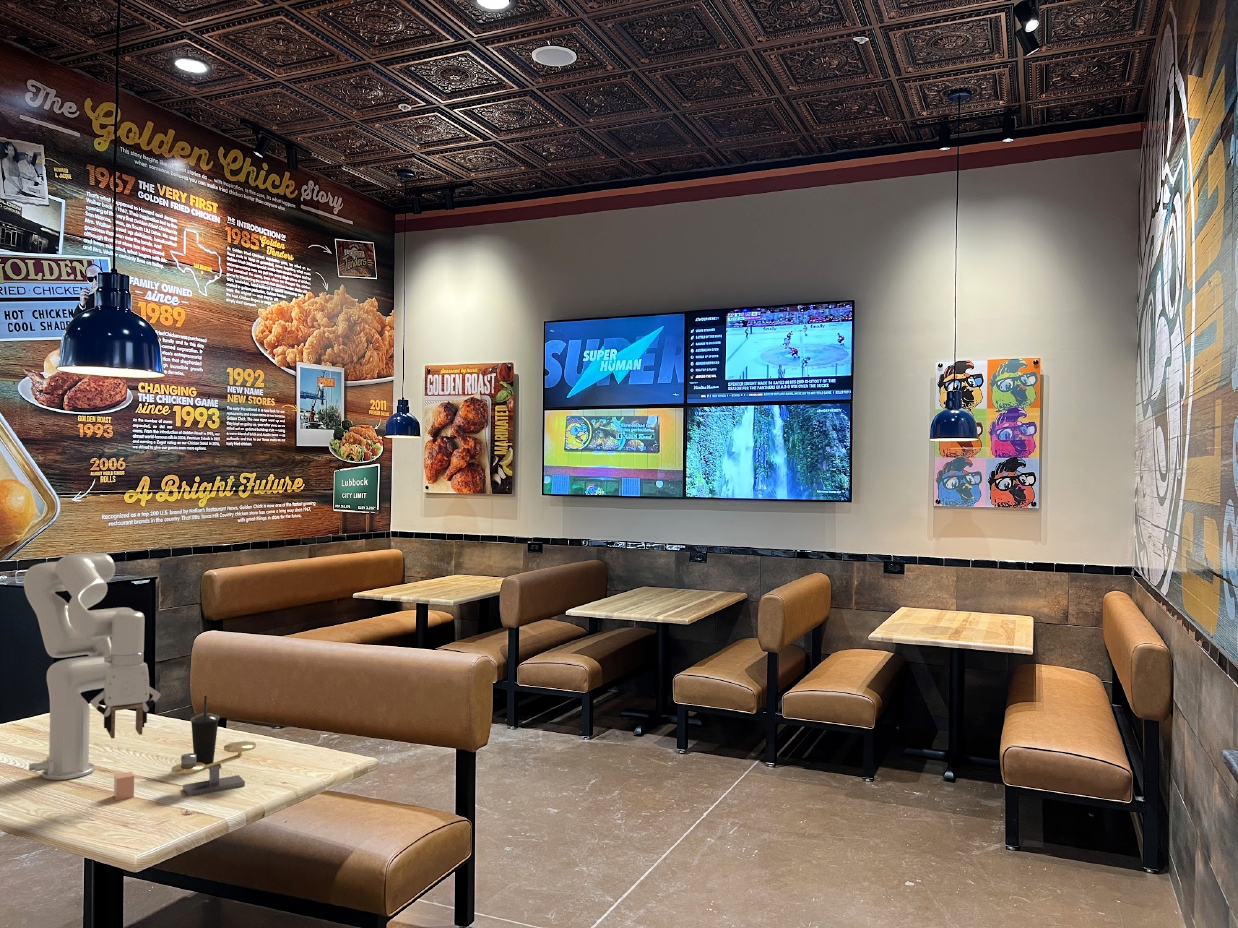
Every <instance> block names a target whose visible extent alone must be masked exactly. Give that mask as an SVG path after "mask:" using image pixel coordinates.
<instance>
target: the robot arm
mask: <svg viewBox="0 0 1238 928" xmlns="http://www.w3.org/2000/svg"><path fill="white" fill-rule="evenodd" d="M115 573H116V564H115V561H114V560H113V559H112V557H111V556H110V555H109V554H107V553H104V552H94V553H93V552H91V553H90V552H89V553H88V552H87V553H76V554H75V553H74V554H69V555H65V556H63V557H61V558H60V559H59V560H58V561H48V562H43V563H38V564H34V565H31V567H29V568H28V569H27V570H26V571H25V574H24V579H23V589H24V593H25V597H26V598H27V601H28V603H29V604H30V606H31V607H32V610H33V611H34V613H35V615H36V618H37V621H38V624H39V629H40V633H41V636H42V641H43V644H44V648H45V650H46V653H47V655H49V656H50V658H57V659H58V658H61V659H62V658H64V659H62V660H58V661H56V662H55V663H53V664H51V665H50V666H49V668H48V670H47V671H46V683H47V688H48V695H49V741H48V742H49V743H48V746H49V747H48V751H49V752H48V756H47V757H46V759H45V760H42V762H41V761H40V762H31V763H29V764H28V772H32V771H34V772H40V771H42V772H41V777H42V778H43V779H46V780H53V781H61V780H69V779H75V778H77V779H78V778H81V777H83V776H84V777H85V776H87V775H89V774H91V773H93V772H94V771H95V770H96V765H95V764H94V763H92V762H90V761H89V760H90V759H89V757H90V755H89V754H90V723H91V722H90V714H91V711H90V710H91V709H90V705H91V706H92V707H94V708H95V709H96V710H97V712H99V713H100V714H101V715H103V728H104V729H105V730H106V731H107V733H108V732H110V731H111V716H110V713H111V707H115V706H124V705H133V704H140V703H143V727H142V729H143V728H145V724H147V722H148V712H149V710H150V709H151V708H152V707H153V706H154V704H155V703H156V702H157V701H158V700H159V698H161V695H162V694H161V693H160V692H159V691H157V690H155V689H154V688H153V687H151V686H150V676H149V668H148V664H147V662H144V657H145V656H144V651H145V615H144V613H143V612H141V611H137V610H134V609H132V608H131V607H125V606H124V607H123V606H122V607H113V608H104V609H92V610H88V609H90V608H91V607H93V606H94V605H96V604H98V603H100V602H101V601H102V600H103V599H104V598H105V596H106V595H107V594H108V593H107V592H108V584H107V583H109V581H111V580H112V579H113V578H114V576H115ZM65 591H67V592H68V593H69V595H70V596H71V598H70V600H69V602H67V601H66V600H65V599H64V598H62V596H60V595H58V594H57V593H56V592H65ZM84 655H87V656H84ZM77 656H78V657H77ZM79 656H80V657H79ZM68 657H69V658H68ZM70 657H71V658H70ZM72 657H73V658H72ZM65 658H66V659H65ZM99 689H103V690H102V691H101V692H100V693H98V694H97V695H96V696H95V697H94V698H93V699H91V700H90V705H89V703H88V701H87V700H86V699H85V698H84V697H83V696H82V694H81V693H84V692H87V691H92V690H93V691H94V690H99ZM150 695H151V696H152V697H151V698H150ZM102 700H103V702H104V704H105V707H104V706H102V705H101V704H100V703H99V702H101V701H102Z"/></svg>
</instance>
